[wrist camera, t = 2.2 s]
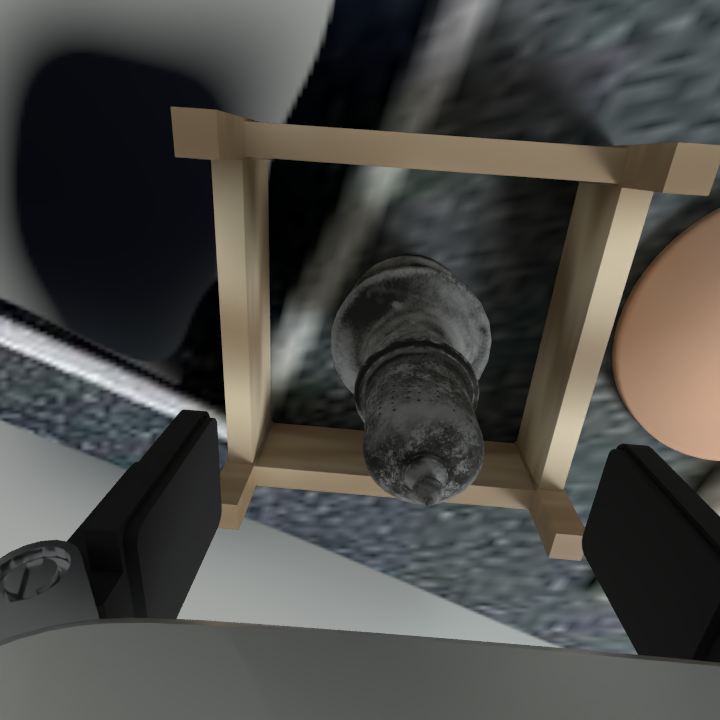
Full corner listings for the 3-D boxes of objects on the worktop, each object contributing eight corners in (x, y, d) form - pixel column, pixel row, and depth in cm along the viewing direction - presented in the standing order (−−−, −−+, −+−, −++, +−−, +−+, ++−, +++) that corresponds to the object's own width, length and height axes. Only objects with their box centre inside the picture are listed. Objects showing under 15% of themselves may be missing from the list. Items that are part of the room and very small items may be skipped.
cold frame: (238, 122, 17) (170, 106, 12) (617, 149, 17) (726, 146, 12) (249, 439, 23) (207, 527, 18) (534, 463, 23) (580, 560, 17)
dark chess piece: (454, 387, 21) (524, 627, 10) (329, 363, 21) (269, 582, 10) (491, 263, 19) (634, 405, 8) (351, 235, 19) (303, 342, 8)
